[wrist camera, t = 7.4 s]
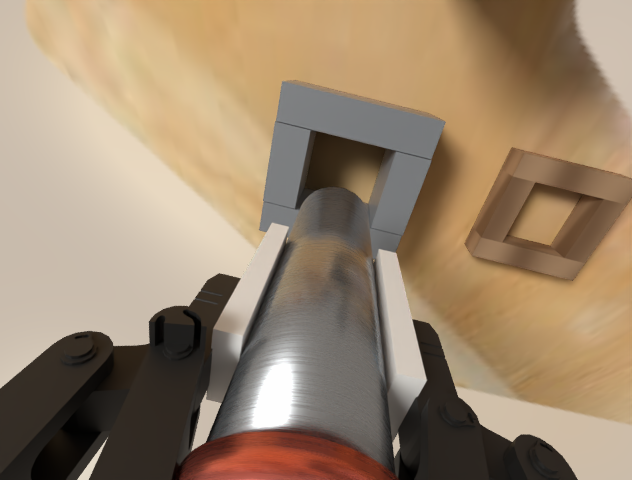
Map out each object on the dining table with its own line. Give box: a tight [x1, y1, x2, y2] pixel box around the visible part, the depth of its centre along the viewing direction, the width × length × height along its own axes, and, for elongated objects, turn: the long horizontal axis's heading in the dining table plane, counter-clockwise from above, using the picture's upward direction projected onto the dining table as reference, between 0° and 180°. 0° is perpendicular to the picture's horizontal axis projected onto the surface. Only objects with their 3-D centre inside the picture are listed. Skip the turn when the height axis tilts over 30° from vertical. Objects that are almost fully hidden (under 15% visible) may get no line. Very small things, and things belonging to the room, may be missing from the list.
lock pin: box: [174, 187, 400, 480], centre depth 12 cm, size 5×5×15 cm
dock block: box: [259, 80, 445, 259], centre depth 29 cm, size 12×12×6 cm
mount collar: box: [465, 148, 632, 281], centre depth 30 cm, size 10×10×2 cm
